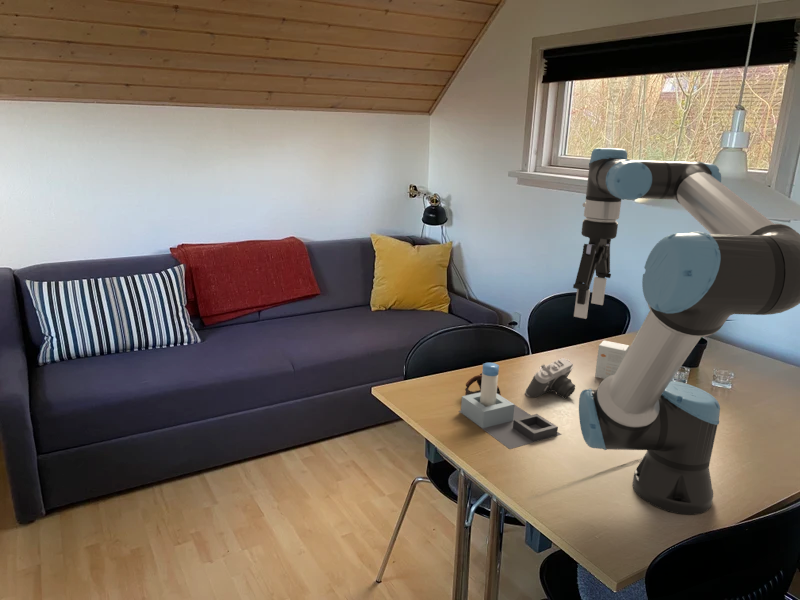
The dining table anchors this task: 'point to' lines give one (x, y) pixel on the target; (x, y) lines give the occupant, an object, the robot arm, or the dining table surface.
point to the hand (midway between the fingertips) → (588, 310)
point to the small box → (609, 358)
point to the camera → (552, 379)
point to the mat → (511, 431)
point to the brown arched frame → (479, 380)
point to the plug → (489, 384)
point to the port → (487, 410)
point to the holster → (536, 435)
